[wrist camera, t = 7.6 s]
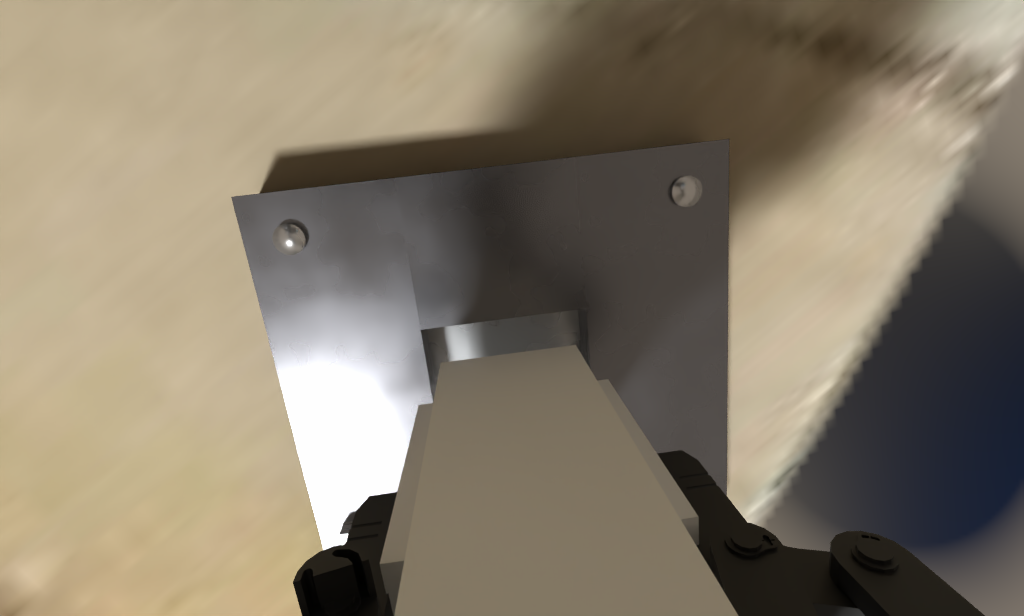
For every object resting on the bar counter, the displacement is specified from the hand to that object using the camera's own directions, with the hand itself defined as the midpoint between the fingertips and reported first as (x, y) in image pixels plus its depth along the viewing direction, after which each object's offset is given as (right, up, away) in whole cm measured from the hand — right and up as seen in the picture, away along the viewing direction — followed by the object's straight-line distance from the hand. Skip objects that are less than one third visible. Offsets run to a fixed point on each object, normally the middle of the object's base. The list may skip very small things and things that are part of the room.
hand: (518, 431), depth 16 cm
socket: (0, +1, +4) cm, 4 cm away
